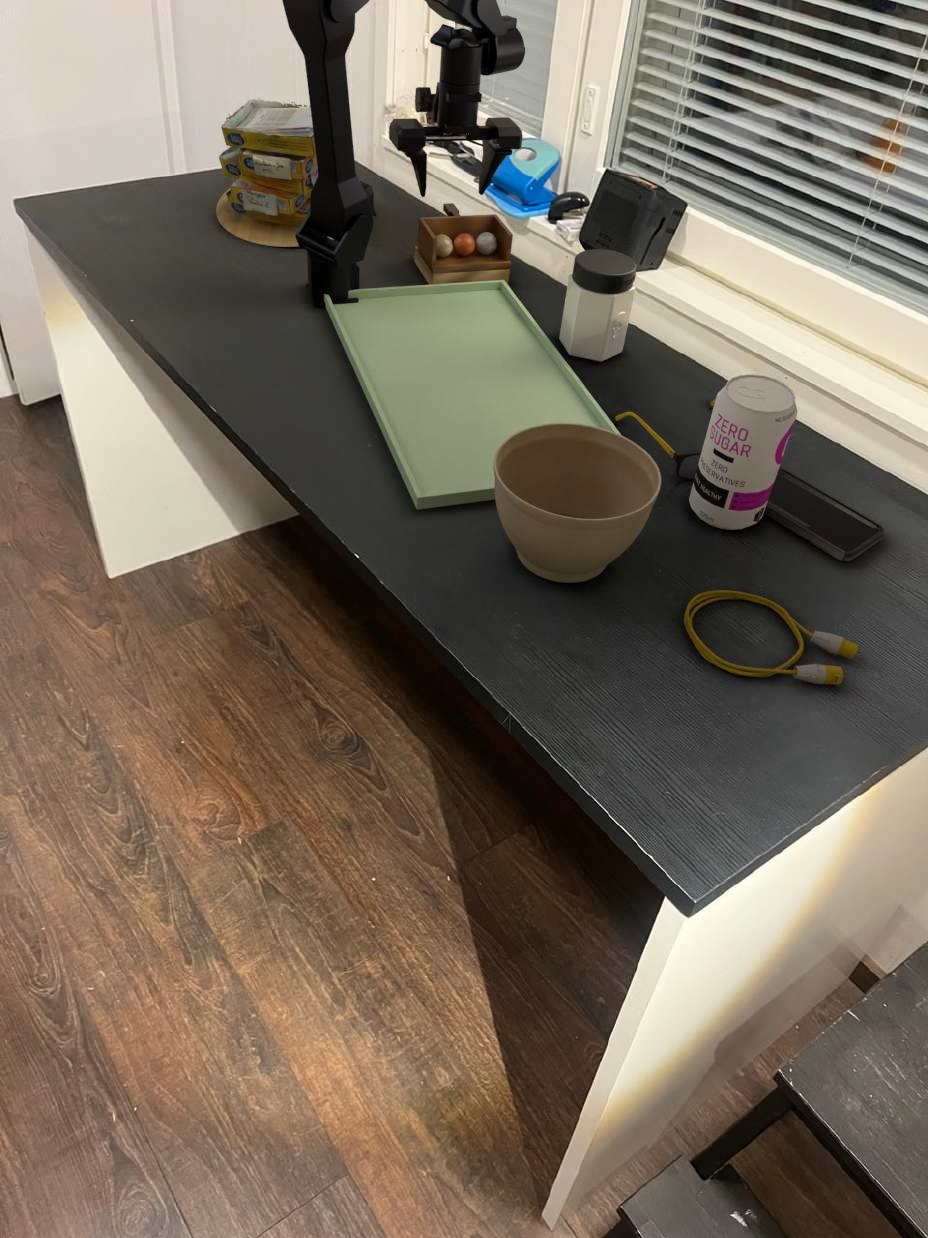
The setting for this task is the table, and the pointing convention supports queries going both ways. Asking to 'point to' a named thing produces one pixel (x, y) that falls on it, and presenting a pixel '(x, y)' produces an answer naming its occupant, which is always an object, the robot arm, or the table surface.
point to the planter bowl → (572, 497)
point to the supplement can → (742, 451)
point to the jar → (598, 304)
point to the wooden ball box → (459, 225)
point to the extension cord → (822, 639)
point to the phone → (820, 518)
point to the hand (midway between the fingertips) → (451, 194)
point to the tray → (456, 380)
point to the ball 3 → (486, 243)
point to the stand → (458, 274)
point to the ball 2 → (464, 244)
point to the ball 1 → (443, 246)
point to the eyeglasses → (669, 450)
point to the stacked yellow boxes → (268, 172)
